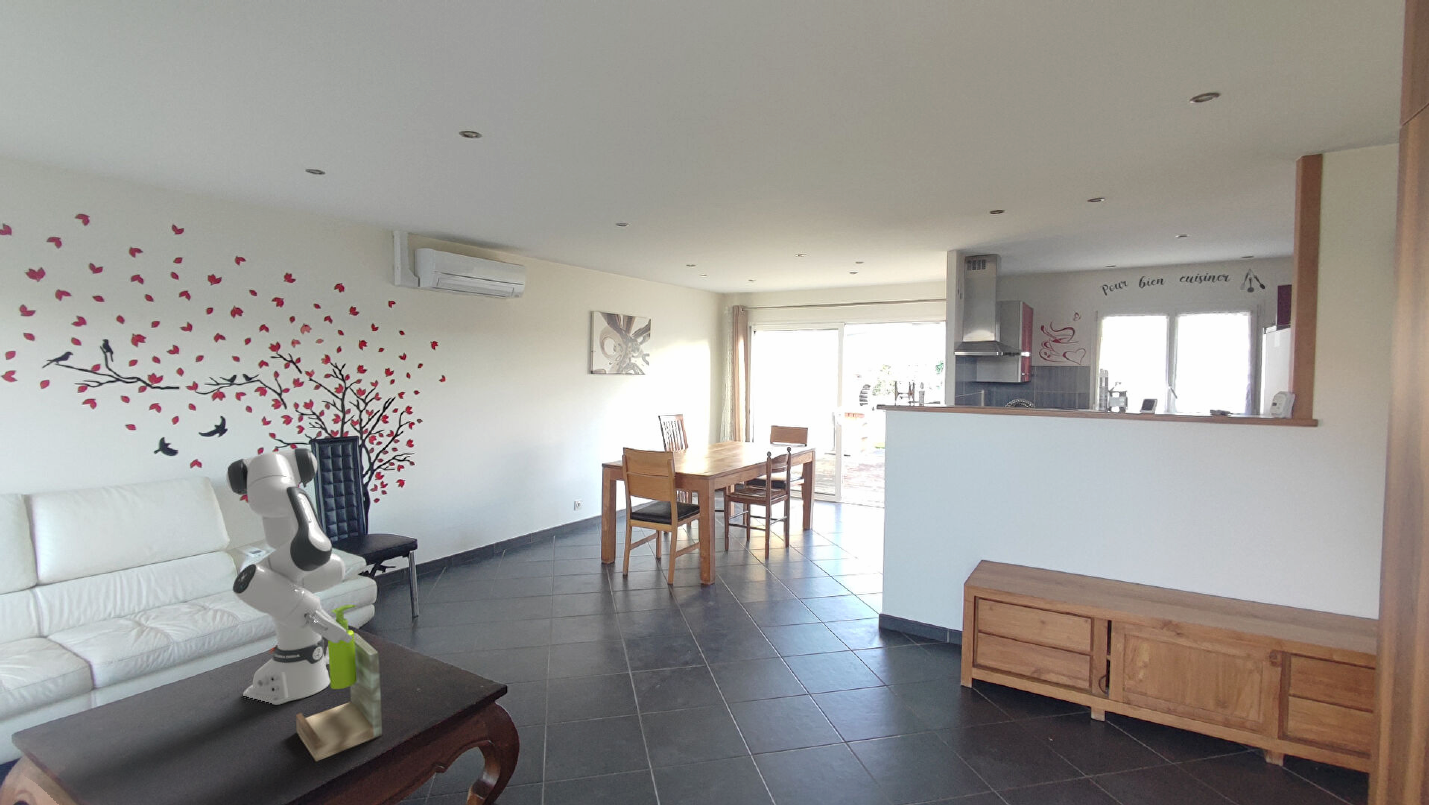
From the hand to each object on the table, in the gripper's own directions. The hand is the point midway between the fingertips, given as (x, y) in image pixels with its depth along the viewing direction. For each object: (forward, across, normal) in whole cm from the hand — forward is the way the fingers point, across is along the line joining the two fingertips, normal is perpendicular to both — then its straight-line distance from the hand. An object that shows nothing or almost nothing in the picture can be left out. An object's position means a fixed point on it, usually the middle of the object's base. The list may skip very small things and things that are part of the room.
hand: (345, 635), depth 164 cm
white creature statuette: (+26, +50, +11) cm, 57 cm away
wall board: (+16, 0, +20) cm, 26 cm away
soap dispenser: (+8, 0, +9) cm, 13 cm away
